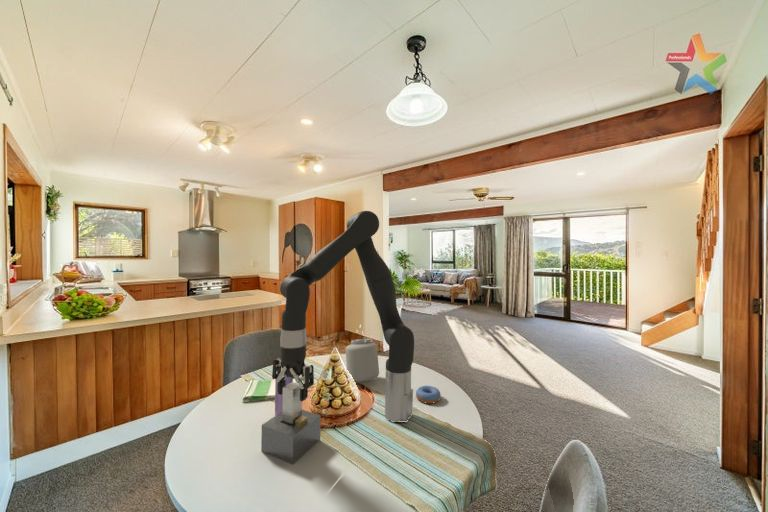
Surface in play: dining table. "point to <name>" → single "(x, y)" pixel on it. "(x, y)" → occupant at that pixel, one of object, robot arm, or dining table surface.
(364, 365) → the jar
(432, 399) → the doughnut
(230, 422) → the dining table surface
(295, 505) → the dining table surface
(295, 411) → the column
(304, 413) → the base
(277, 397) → the beverage can
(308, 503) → the dining table surface
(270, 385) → the dish towel
